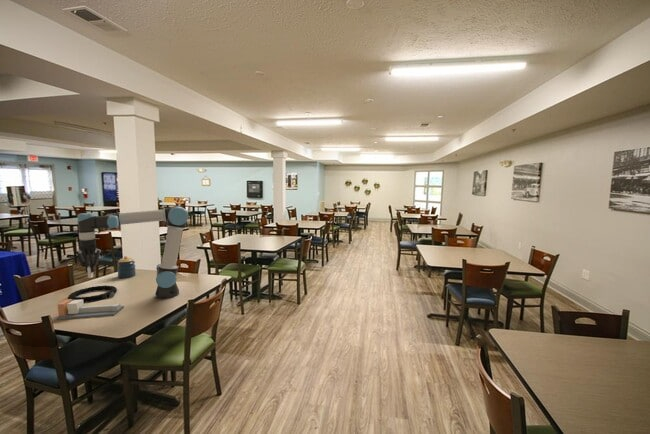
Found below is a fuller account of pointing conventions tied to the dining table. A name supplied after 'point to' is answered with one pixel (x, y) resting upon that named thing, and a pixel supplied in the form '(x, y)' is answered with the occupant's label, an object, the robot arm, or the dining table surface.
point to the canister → (126, 267)
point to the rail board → (90, 314)
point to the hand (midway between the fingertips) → (90, 277)
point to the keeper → (74, 306)
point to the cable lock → (97, 297)
